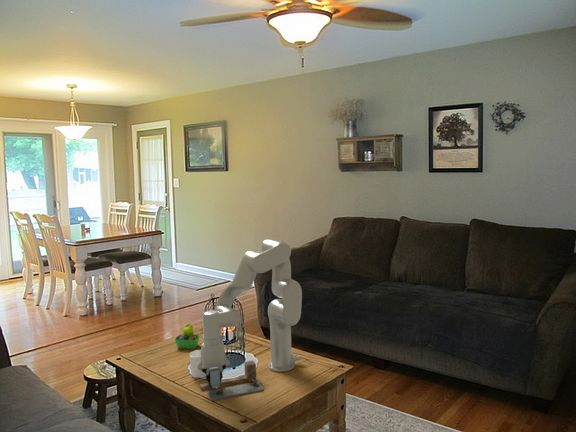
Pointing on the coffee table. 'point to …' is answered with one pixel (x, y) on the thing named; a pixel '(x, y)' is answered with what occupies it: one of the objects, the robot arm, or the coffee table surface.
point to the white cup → (196, 364)
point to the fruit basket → (187, 338)
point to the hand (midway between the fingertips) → (214, 381)
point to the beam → (249, 376)
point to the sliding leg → (214, 377)
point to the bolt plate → (235, 391)
